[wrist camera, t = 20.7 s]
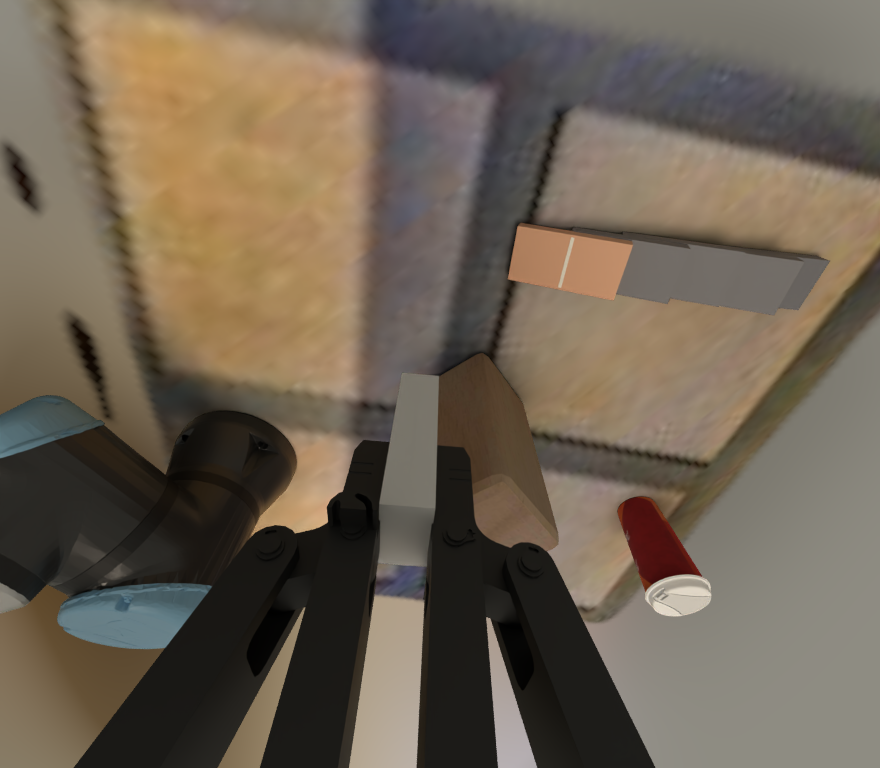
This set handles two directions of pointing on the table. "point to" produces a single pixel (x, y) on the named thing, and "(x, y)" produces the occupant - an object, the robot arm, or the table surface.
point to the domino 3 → (761, 282)
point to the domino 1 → (649, 266)
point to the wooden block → (496, 453)
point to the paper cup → (662, 560)
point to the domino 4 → (800, 277)
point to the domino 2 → (703, 270)
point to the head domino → (569, 260)
